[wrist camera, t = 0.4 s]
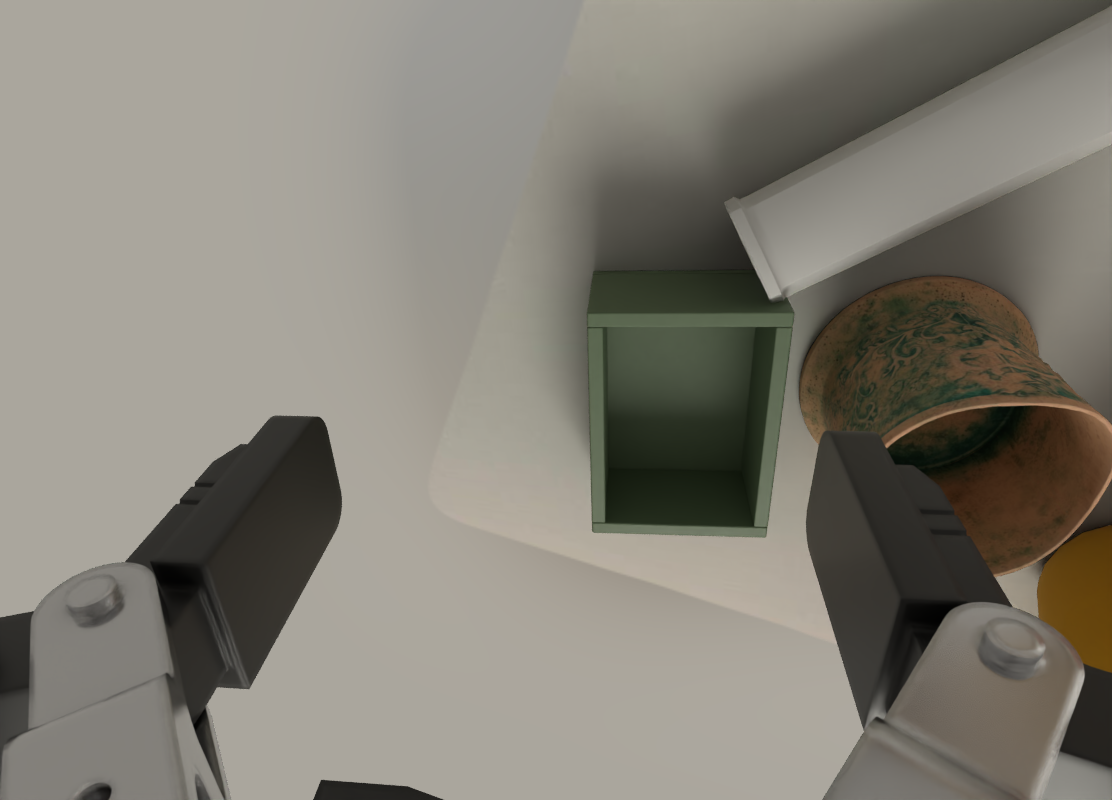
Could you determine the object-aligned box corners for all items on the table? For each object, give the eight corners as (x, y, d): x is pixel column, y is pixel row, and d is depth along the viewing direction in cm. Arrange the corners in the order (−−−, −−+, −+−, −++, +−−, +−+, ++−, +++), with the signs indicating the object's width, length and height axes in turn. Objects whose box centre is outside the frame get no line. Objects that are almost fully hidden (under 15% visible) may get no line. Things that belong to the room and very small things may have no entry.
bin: (593, 271, 37) (586, 312, 32) (773, 269, 36) (795, 312, 31) (597, 472, 43) (592, 533, 38) (751, 475, 42) (766, 538, 37)
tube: (1470, -197, 23) (722, 198, 30) (1530, -36, 23) (776, 314, 30) (1335, -115, 28) (724, 205, 35) (1387, 16, 28) (771, 305, 36)
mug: (765, 546, 44) (804, 718, 34) (822, 270, 36) (898, 386, 25) (961, 561, 43) (1064, 742, 33) (1069, 281, 35) (1254, 407, 24)
